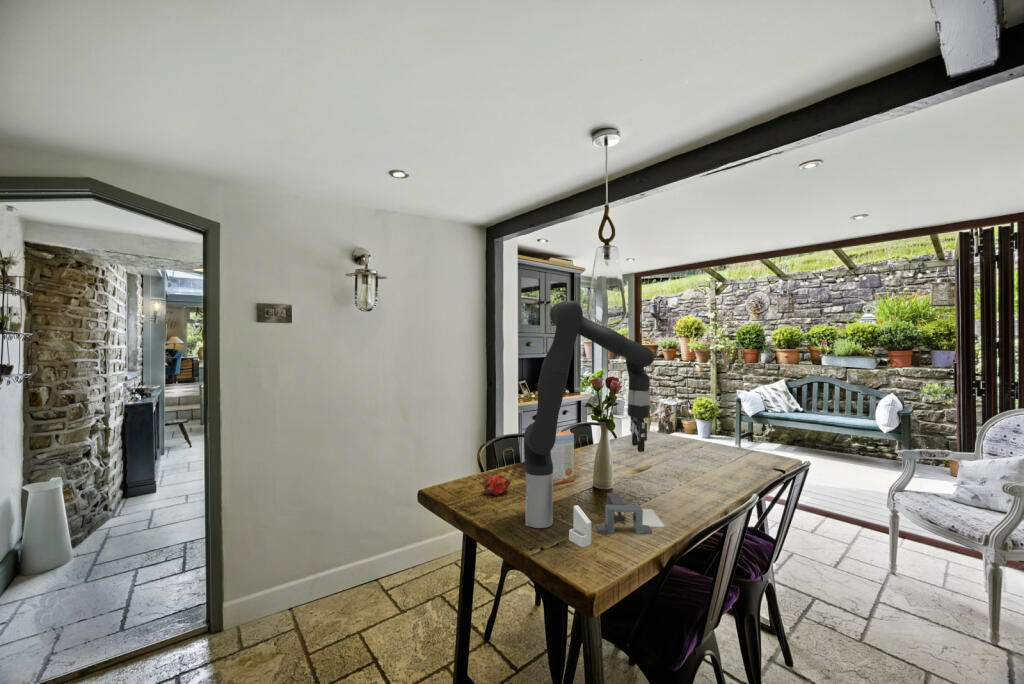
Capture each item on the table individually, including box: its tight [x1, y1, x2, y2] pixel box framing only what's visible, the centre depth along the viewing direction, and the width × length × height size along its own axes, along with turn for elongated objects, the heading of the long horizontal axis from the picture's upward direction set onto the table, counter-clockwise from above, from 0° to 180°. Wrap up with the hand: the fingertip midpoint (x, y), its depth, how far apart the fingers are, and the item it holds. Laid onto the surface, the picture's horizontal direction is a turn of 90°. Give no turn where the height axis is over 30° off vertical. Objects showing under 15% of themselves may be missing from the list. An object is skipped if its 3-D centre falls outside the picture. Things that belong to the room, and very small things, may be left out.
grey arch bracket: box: [595, 504, 653, 535], centre depth 137 cm, size 17×4×8 cm, turn 88°
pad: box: [630, 508, 666, 529], centre depth 146 cm, size 8×14×1 cm, turn 178°
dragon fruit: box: [482, 473, 511, 496], centre depth 169 cm, size 8×8×12 cm
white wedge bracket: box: [568, 504, 592, 548], centre depth 130 cm, size 4×10×9 cm
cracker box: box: [551, 430, 575, 486], centre depth 182 cm, size 14×6×21 cm, turn 115°
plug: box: [606, 492, 626, 522], centre depth 149 cm, size 4×13×6 cm, turn 178°
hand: (638, 448), depth 151 cm, fingers open, 8 cm apart
